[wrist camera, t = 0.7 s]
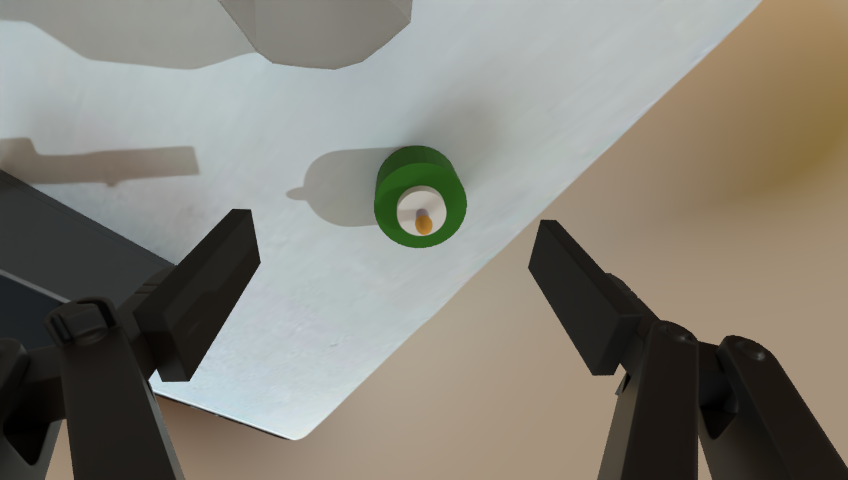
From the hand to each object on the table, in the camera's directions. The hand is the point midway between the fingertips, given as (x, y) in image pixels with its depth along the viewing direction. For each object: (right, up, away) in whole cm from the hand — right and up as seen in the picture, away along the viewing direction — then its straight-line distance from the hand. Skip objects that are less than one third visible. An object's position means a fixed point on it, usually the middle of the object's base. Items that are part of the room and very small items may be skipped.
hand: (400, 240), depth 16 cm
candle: (0, +6, +20) cm, 21 cm away
